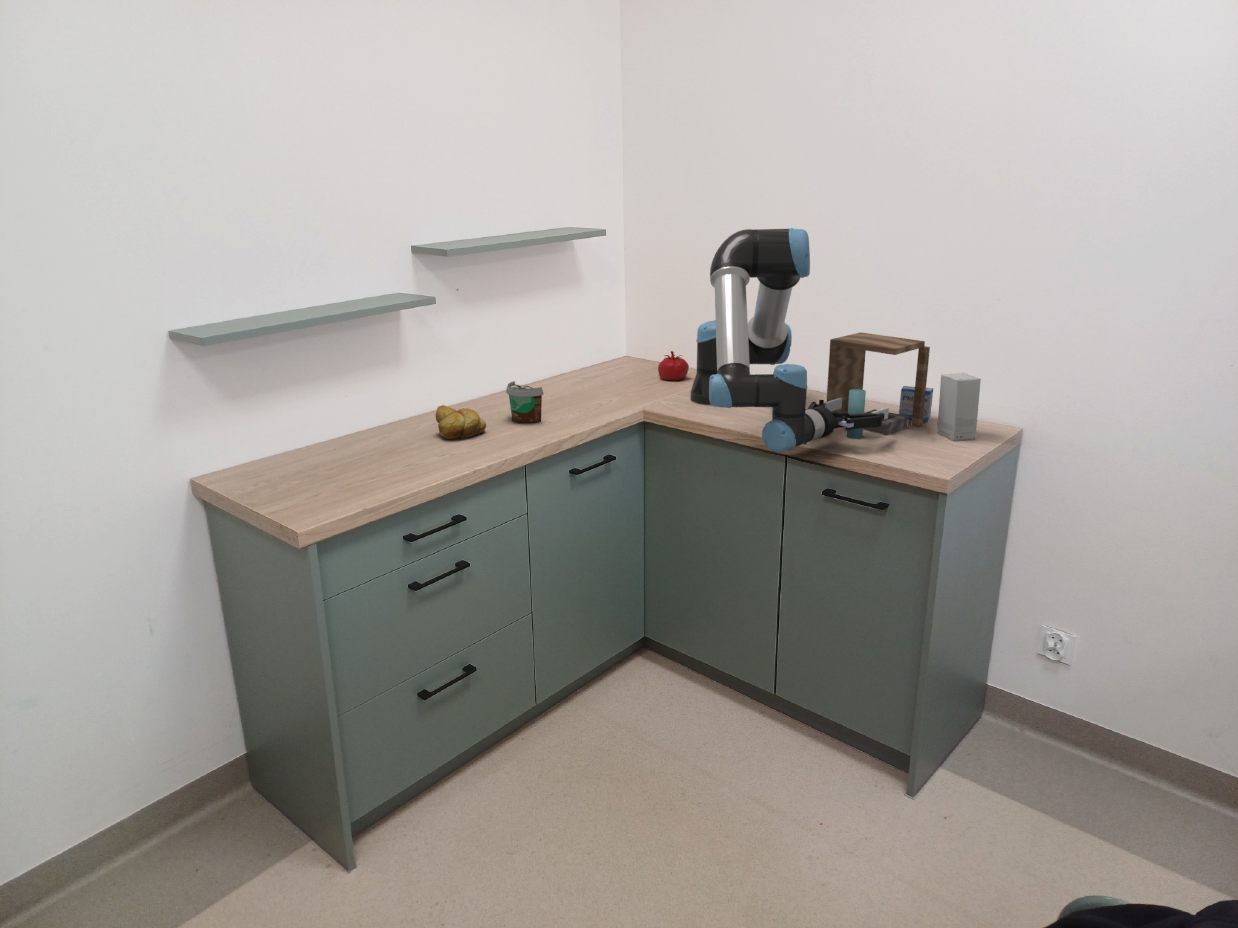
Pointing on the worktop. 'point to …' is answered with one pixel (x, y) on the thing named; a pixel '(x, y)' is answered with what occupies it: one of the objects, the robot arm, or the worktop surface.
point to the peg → (856, 410)
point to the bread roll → (458, 422)
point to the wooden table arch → (850, 373)
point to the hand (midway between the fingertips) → (863, 407)
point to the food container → (525, 403)
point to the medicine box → (908, 401)
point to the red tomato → (673, 368)
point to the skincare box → (958, 406)
